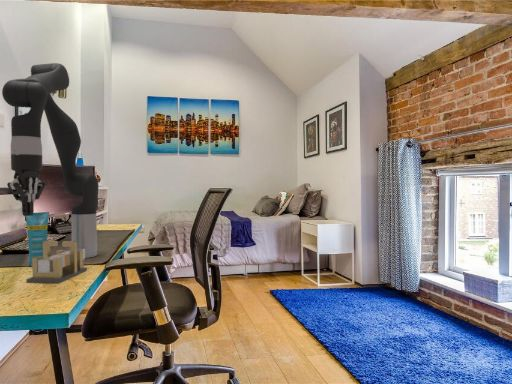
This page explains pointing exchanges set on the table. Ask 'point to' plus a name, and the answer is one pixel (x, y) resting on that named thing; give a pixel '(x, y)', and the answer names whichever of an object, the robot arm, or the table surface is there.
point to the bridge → (64, 244)
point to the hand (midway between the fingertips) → (28, 215)
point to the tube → (37, 233)
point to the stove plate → (65, 276)
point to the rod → (48, 262)
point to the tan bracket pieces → (55, 266)
